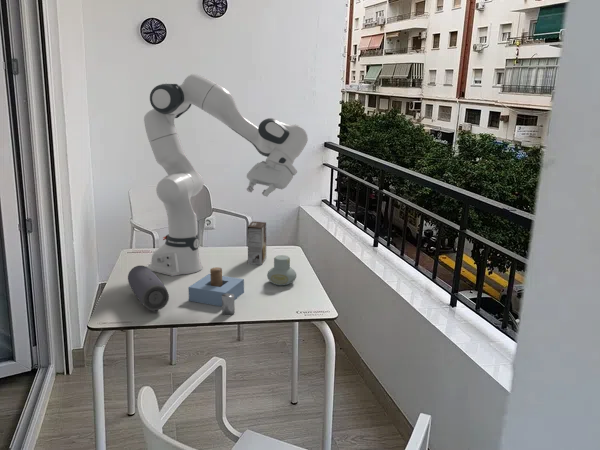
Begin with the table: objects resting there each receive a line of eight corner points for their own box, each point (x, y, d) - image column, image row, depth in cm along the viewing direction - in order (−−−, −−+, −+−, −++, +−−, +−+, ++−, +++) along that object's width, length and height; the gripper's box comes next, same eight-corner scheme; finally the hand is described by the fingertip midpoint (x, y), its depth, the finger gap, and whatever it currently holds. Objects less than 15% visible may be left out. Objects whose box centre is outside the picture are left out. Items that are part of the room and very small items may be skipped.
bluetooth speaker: (171, 311, 167) (170, 282, 164) (142, 316, 162) (140, 287, 160) (153, 288, 186) (152, 262, 184) (127, 292, 182) (125, 265, 179)
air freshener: (298, 280, 197) (298, 255, 194) (293, 287, 189) (294, 262, 186) (270, 277, 198) (270, 253, 196) (265, 285, 191) (265, 259, 188)
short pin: (219, 314, 165) (219, 297, 163) (225, 309, 169) (225, 292, 167) (231, 316, 164) (230, 298, 162) (236, 311, 167) (236, 294, 166)
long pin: (209, 297, 178) (208, 270, 176) (214, 293, 182) (213, 266, 179) (219, 299, 177) (218, 271, 174) (224, 295, 181) (224, 268, 178)
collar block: (188, 300, 175) (188, 287, 174) (209, 286, 188) (208, 273, 187) (225, 307, 171) (225, 292, 170) (244, 292, 184) (243, 279, 182)
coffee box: (252, 257, 223) (251, 221, 219) (266, 258, 222) (266, 221, 218) (247, 263, 214) (246, 226, 210) (262, 264, 213) (262, 227, 209)
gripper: (256, 155, 193) (234, 183, 189) (290, 161, 178) (268, 191, 174) (265, 166, 197) (244, 194, 193) (300, 172, 182) (278, 203, 178)
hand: (256, 193), depth 183 cm, fingers open, 8 cm apart
